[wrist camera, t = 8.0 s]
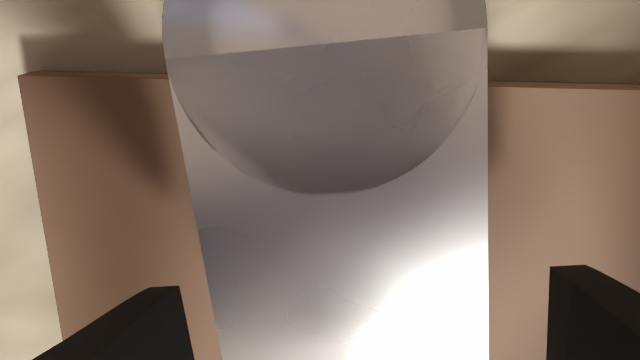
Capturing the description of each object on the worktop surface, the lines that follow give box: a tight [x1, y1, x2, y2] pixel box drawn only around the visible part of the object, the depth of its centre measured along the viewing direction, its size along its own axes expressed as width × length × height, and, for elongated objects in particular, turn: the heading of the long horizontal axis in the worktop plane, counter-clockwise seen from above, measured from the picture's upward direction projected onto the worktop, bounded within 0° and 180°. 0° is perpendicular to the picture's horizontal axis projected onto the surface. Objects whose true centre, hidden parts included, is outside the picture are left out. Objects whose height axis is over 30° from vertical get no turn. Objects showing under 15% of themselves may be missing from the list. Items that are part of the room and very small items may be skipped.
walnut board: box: [18, 71, 640, 360], centre depth 14 cm, size 16×8×1 cm, turn 89°
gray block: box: [162, 0, 488, 360], centre depth 10 cm, size 4×13×6 cm, turn 6°
